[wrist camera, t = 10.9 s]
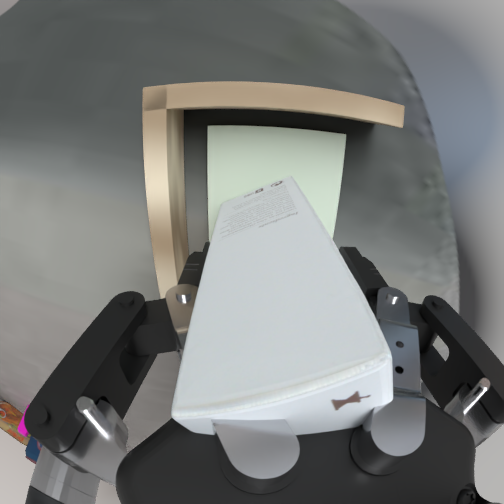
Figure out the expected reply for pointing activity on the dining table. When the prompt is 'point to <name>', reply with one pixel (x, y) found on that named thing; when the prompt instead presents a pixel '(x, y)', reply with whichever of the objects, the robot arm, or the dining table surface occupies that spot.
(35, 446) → the soda can
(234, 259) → the skincare box
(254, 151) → the mat
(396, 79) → the dining table surface
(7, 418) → the tin
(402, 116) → the wooden angle bracket
